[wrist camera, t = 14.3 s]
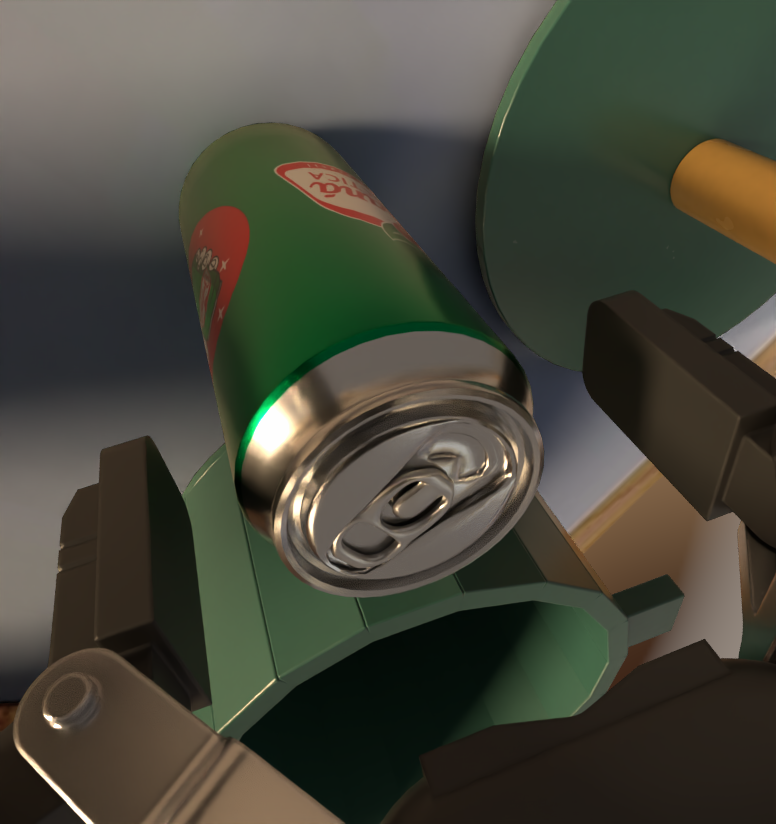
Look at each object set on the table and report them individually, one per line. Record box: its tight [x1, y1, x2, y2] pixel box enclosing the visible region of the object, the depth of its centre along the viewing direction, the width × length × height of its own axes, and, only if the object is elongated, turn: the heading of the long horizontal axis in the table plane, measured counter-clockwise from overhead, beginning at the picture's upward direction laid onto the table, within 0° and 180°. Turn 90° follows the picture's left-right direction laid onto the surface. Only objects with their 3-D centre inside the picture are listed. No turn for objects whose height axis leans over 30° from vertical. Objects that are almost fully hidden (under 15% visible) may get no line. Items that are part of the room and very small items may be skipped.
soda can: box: [179, 123, 544, 598], centre depth 14 cm, size 5×5×12 cm
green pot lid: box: [475, 0, 776, 372], centre depth 20 cm, size 16×16×6 cm
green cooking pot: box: [182, 444, 684, 824], centre depth 24 cm, size 15×20×10 cm
